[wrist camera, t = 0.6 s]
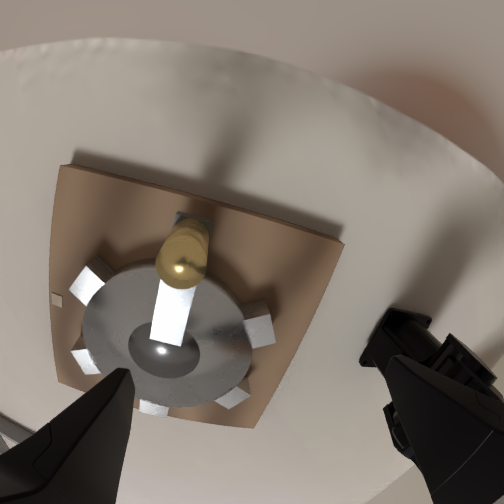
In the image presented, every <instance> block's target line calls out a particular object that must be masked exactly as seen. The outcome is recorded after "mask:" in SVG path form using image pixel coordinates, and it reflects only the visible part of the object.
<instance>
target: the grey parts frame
mask: <svg viewBox="0 0 504 504" xmlns="http://www.w3.org/2000/svg"><path fill="white" fill-rule="evenodd" d="M0 434H1V435H3V436H4V437H6V438H8V439H9V440H11V441H13V442H14V443H16V444H19V443H21V442H22V441H24V440H25V439H27V438H28V437H30V436H31V435H33V434H32V433H30V432H28V431H26V430H24V429H23V428H21V427H19V426H17V425H15V424H13V423H12V422H10V421H8V420H7V419H5V418H3V417H2V416H0ZM1 435H0V455H1V454H2V453H4V452H6V451H7V450H9V448H8V446H7V445H6V443H5V442H4V440H3V438H2V437H1Z"/></svg>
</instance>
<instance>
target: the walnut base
mask: <svg viewBox="0 0 504 504" xmlns="http://www.w3.org/2000/svg"><path fill="white" fill-rule="evenodd" d="M177 211H181V212H185V213H188V214H192V215H196V216H199V217H203V218H207V219H210V220H214V224H213V228H212V231H211V234H210V238H209V243H208V255H207V267H206V270H207V271H209V272H210V273H212V274H213V275H215V276H217V277H218V278H219V279H220V280H222V281H223V282H224V283H225V284H226V285H227V286H228V287H229V288H230V289H231V290H232V291H233V292H234V294H235V295H236V296H237V298H238V299H239V300H240V302H241V304H246V303H250V302H254V301H259V300H263V299H265V301H266V304H267V307H268V310H269V313H270V316H271V321H272V326H273V330H274V335H275V340H276V343H274V344H270V345H266V346H262V347H258V348H253V349H252V358H251V363H250V366H249V369H248V371H247V373H246V375H245V376H246V377H247V378H248V380H249V386H250V392H251V396H250V397H248V398H246V399H245V400H243V401H242V402H240V403H239V404H237V405H235V406H234V407H232V408H230V409H227V408H226V407H224V406H222V405H220V404H219V403H217V402H215V401H212V402H210V403H206V404H203V405H199V406H193V407H169V410H168V414H167V416H170V417H175V418H180V419H185V420H191V421H197V422H203V423H209V424H216V425H224V426H233V427H242V428H253V429H254V427H255V426H256V424H257V422H258V421H259V419H260V417H261V415H262V414H263V412H264V410H265V409H266V407H267V405H268V403H269V402H270V400H271V398H272V396H273V394H274V393H275V391H276V389H277V387H278V385H279V384H280V382H281V380H282V378H283V376H284V374H285V372H286V370H287V369H288V367H289V365H290V363H291V361H292V359H293V357H294V355H295V353H296V351H297V349H298V347H299V345H300V343H301V341H302V339H303V337H304V335H305V333H306V331H307V329H308V327H309V325H310V323H311V321H312V318H313V316H314V314H315V312H316V310H317V308H318V306H319V303H320V301H321V299H322V297H323V295H324V292H325V290H326V288H327V286H328V283H329V281H330V279H331V276H332V274H333V272H334V269H335V267H336V265H337V262H338V260H339V257H340V255H341V253H342V250H343V248H344V245H345V244H343V243H342V242H341V241H339V240H338V239H337V238H334V237H331V236H328V235H325V234H322V233H319V232H316V231H313V230H310V229H307V228H304V227H300V226H297V225H294V224H291V223H288V222H285V221H281V220H278V219H275V218H272V217H268V216H265V215H262V214H258V213H255V212H252V211H248V210H245V209H242V208H238V207H235V206H231V205H228V204H225V203H221V202H218V201H214V200H211V199H207V198H203V197H200V196H196V195H193V194H189V193H185V192H182V191H178V190H174V189H170V188H167V187H163V186H159V185H155V184H151V183H147V182H144V181H140V180H136V179H132V178H128V177H124V176H119V175H115V174H111V173H107V172H103V171H98V170H94V169H90V168H85V167H81V166H77V165H72V164H67V165H60V169H59V174H58V180H57V186H56V192H55V199H54V207H53V215H52V225H51V238H50V256H49V302H50V320H51V332H52V342H53V351H54V358H55V365H56V371H57V377H58V382H60V383H62V384H65V385H67V386H70V387H72V388H75V389H78V390H80V391H83V392H87V391H88V390H90V389H91V388H92V387H93V386H95V385H96V384H97V383H98V382H100V381H101V380H102V379H103V378H105V377H104V376H103V375H102V373H99V374H86V375H85V373H84V372H83V370H82V369H81V367H80V365H79V364H78V362H77V361H76V359H75V358H74V356H73V354H72V353H71V349H72V348H73V346H74V344H75V343H76V341H77V340H78V338H79V336H83V331H82V324H83V316H84V312H85V309H86V307H87V306H86V305H85V304H83V303H82V302H81V301H80V300H79V299H78V298H77V297H76V296H75V295H74V294H73V293H72V292H71V291H70V290H69V289H70V287H71V286H72V284H73V283H74V281H75V280H76V279H77V277H78V276H79V275H80V273H81V272H82V271H83V269H84V268H85V267H86V265H87V264H88V263H89V262H90V261H92V260H93V259H94V258H95V257H96V256H97V255H99V256H100V257H101V258H102V259H103V260H104V261H105V262H106V263H107V264H108V265H109V266H110V267H111V268H112V269H113V270H114V271H116V270H117V269H119V268H120V267H122V266H124V265H126V264H129V263H132V262H135V261H138V260H143V259H149V258H157V255H158V253H159V251H160V249H161V248H162V246H163V244H164V242H165V241H166V239H167V237H168V235H169V234H170V232H171V230H172V227H173V223H174V219H175V215H176V213H177ZM139 406H140V400H139V399H136V398H134V405H133V408H137V409H139Z"/></svg>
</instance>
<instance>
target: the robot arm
mask: <svg viewBox="0 0 504 504" xmlns="http://www.w3.org/2000/svg"><path fill="white" fill-rule="evenodd" d="M431 321H432V318H431V317H430V316H427V315H422V314H418V313H413V312H409V311H404V310H399V309H395V308H390V309H389V310H388V311H387V312H386V314H385V316H384V318H383V320H382V322H381V324H380V325H379V327H378V329H377V331H376V333H375V334H374V336H373V338H372V340H371V342H370V343H369V345H368V347H367V348H366V350H365V352H364V353H363V355H362V357H361V358H360V360H359V363H360V365H361V366H363V367H377V368H378V370H379V371H380V372H381V374H382V375H383V377H384V378H385V380H386V383H387V386H388V389H389V392H390V395H391V398H392V401H391V402H390V403H389V404H387V405H386V406H385V407H384V408H383V411H384V414H385V418H386V421H387V424H388V428H389V431H390V434H391V438H392V441H393V444H394V447H395V448H397V450H398V451H399V452H401V454H403V455H404V456H405V457H407V458H408V459H411V460H412V461H413V462H414V463H415V464H416V466H417V467H418V468H419V470H420V471H421V473H422V474H423V476H424V479H425V481H426V484H427V487H428V489H429V492H430V495H431V498H432V501H433V504H504V399H503V396H502V394H501V393H500V392H499V391H498V390H497V389H496V388H495V387H494V386H493V385H492V384H493V383H494V382H495V380H496V379H497V377H496V376H495V375H494V373H493V372H492V371H491V370H490V369H489V368H488V367H487V365H486V364H485V363H484V362H483V361H482V360H481V359H480V358H479V357H478V356H477V355H476V354H475V353H474V352H473V351H472V350H470V349H469V348H468V347H467V346H466V345H465V344H463V343H462V342H461V341H460V340H458V339H457V338H456V337H454V336H453V335H452V334H451V333H449V335H448V336H447V337H446V340H445V341H444V343H443V344H441V343H440V342H439V341H438V340H437V339H436V338H435V337H434V336H433V335H432V334H431V333H430V332H429V331H428V330H427V329H428V327H429V325H430V323H431ZM134 397H135V385H134V382H133V378H132V375H131V372H130V370H129V369H128V368H120V367H118V368H116V369H115V370H113V371H112V372H111V373H110V374H108V375H107V376H106V377H105V378H103V379H102V380H101V381H100V382H98V383H97V384H96V385H95V386H93V387H92V388H91V389H90V390H88V391H87V392H86V393H85V394H83V395H82V396H81V397H80V398H78V399H77V400H76V401H75V402H73V403H72V404H71V405H70V406H68V407H67V408H66V409H65V410H63V411H62V412H61V413H60V414H58V415H57V416H56V417H55V418H53V419H52V420H51V421H50V423H47V424H46V425H44V426H43V427H42V428H41V429H39V430H38V431H37V432H35V433H34V434H33V435H31V436H30V437H28V438H27V439H25V440H24V441H22V442H21V443H19V444H17V445H16V446H14V447H12V448H11V449H9V450H7V451H6V452H4V453H2V454H1V455H0V504H115V503H116V497H117V492H118V486H119V481H120V476H121V471H122V466H123V461H124V457H125V452H126V448H127V443H128V439H129V435H130V430H131V422H132V413H133V405H134Z"/></svg>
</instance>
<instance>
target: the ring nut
mask: <svg viewBox="0 0 504 504" xmlns="http://www.w3.org/2000/svg"><path fill="white" fill-rule="evenodd" d="M213 224H214V220H210V219H207V218H203V217H199V216H196V215H192V214H188V213H185V212H181V211H177V213H176V215H175V219H174V223H173V227H172V230H171V232H170V234H169V235H168V237H167V239H166V241H165V242H164V244H163V246H162V248H161V249H160V251H159V253H158V255H157V258H149V259H143V260H138V261H135V262H132V263H129V264H126V265H124V266H122V267H120V268H119V269H117V270H116V271H114V270H113V269H112V268H111V267H110V266H109V265H108V264H107V263H106V262H105V261H104V260H103V259H102V258H101V257H100V256H99V255H97V256H96V257H95V258H94V259H93V260H92V261H90V262H89V263H88V264H87V265H86V267H85V268H84V269H83V271H82V272H81V273H80V275H79V276H78V277H77V279H76V280H75V281H74V283H73V284H72V286H71V287H70V289H69V290H70V291H71V292H72V293H73V294H74V295H75V296H76V297H77V298H78V299H79V300H80V301H81V302H82V303H83V304H85V305H86V306H87V307H86V309H85V312H84V316H83V324H82V331H83V336H79V338H78V340H77V341H76V343H75V344H74V346H73V348H72V349H71V353H72V354H73V356H74V358H75V359H76V361H77V362H78V364H79V365H80V367H81V369H82V370H83V372H84V373H85V375H86V374H99V373H102V375H103V376H104V377H106V376H107V375H108V374H110V373H111V372H112V371H113V370H115V369H116V368H118V367H120V368H128V369H129V370H130V372H131V375H132V378H133V382H134V385H135V397H134V398H136V399H139V400H140V406H139V411H140V412H144V413H148V414H152V415H156V416H161V417H165V418H167V414H168V410H169V407H193V406H199V405H203V404H206V403H210V402H212V401H215V402H217V403H219V404H220V405H222V406H224V407H226V408H227V409H230V408H232V407H234V406H235V405H237V404H239V403H240V402H242V401H243V400H245V399H246V398H248V397H250V396H251V392H250V386H249V380H248V378H247V377H246V376H245V375H246V373H247V371H248V369H249V366H250V363H251V358H252V349H253V348H258V347H262V346H266V345H270V344H274V343H276V340H275V335H274V330H273V326H272V321H271V316H270V313H269V310H268V307H267V304H266V301H265V299H263V300H259V301H254V302H250V303H246V304H241V302H240V300H239V299H238V298H237V296H236V295H235V294H234V292H233V291H232V290H231V289H230V288H229V287H228V286H227V285H226V284H225V283H224V282H223V281H222V280H220V279H219V278H218V277H217V276H215V275H213V274H212V273H210V272H209V271H207V270H206V267H207V255H208V243H209V238H210V234H211V231H212V228H213Z"/></svg>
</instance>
